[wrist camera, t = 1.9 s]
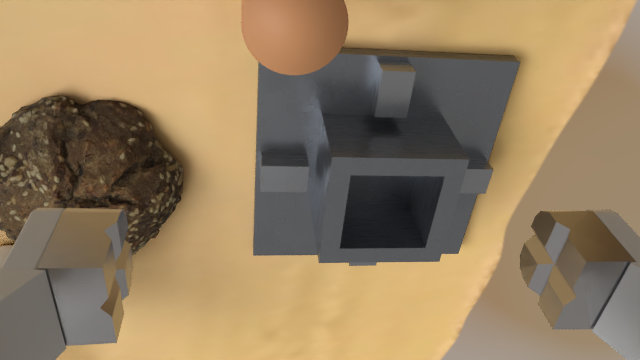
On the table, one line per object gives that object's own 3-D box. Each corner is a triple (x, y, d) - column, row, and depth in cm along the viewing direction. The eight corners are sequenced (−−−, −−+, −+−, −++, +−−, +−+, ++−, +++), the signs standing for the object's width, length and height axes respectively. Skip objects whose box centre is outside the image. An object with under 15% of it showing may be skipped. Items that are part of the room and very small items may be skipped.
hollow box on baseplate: (259, 43, 32) (261, 88, 27) (513, 55, 34) (558, 98, 29) (253, 246, 41) (254, 307, 36) (454, 245, 43) (480, 301, 38)
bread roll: (92, 270, 41) (75, 322, 37) (-60, 164, 34) (-101, 214, 30) (222, 184, 38) (220, 231, 34) (82, 49, 31) (58, 87, 27)
